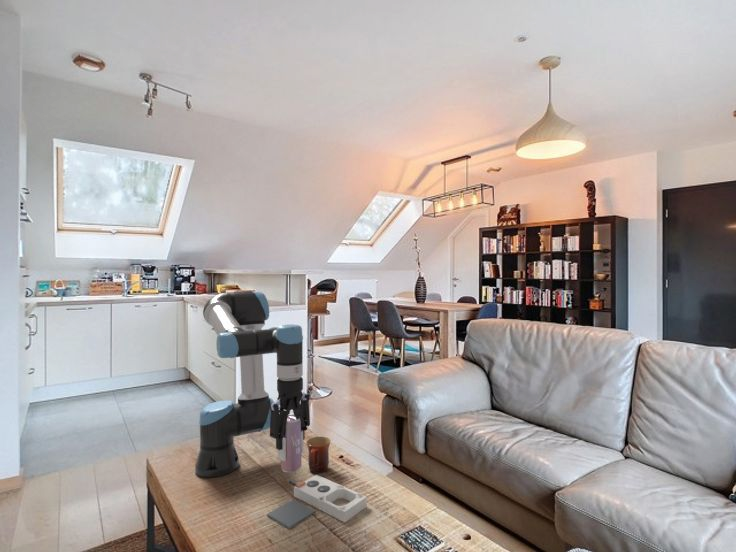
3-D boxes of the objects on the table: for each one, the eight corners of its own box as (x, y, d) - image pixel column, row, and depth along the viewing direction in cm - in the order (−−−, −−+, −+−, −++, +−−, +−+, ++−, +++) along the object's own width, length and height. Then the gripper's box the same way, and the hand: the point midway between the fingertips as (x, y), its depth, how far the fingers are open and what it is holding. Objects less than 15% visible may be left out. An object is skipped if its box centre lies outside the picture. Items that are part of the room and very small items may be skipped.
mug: (311, 462, 154) (311, 435, 154) (333, 464, 152) (333, 437, 152) (299, 478, 142) (299, 449, 142) (323, 480, 140) (323, 451, 140)
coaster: (267, 515, 120) (267, 513, 120) (293, 501, 128) (293, 499, 128) (289, 529, 114) (289, 527, 114) (315, 512, 122) (315, 510, 122)
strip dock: (277, 488, 135) (277, 477, 135) (301, 475, 144) (301, 465, 144) (343, 523, 116) (343, 510, 116) (367, 505, 125) (367, 494, 125)
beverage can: (293, 461, 125) (293, 413, 125) (305, 468, 121) (304, 417, 120) (276, 468, 121) (276, 418, 121) (288, 475, 116) (287, 423, 116)
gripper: (271, 386, 111) (272, 471, 111) (322, 373, 125) (322, 448, 126) (255, 382, 115) (256, 463, 116) (305, 369, 130) (306, 441, 130)
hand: (290, 455), depth 121 cm, fingers closed on beverage can, 6 cm apart
